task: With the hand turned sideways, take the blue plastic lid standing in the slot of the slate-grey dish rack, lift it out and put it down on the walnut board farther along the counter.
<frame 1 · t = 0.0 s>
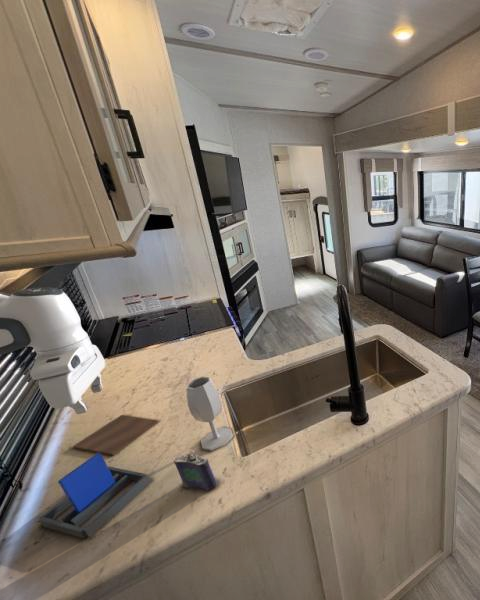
hand: (91, 400, 78), 23 cm above the worktop, tool pointing down, fingers open, 8 cm apart
wineglass: (217, 440, 94), on the worktop
board: (118, 435, 99), on the worktop
flask: (201, 485, 80), on the worktop
rack: (100, 502, 77), on the worktop
lid: (90, 485, 75), in the rack
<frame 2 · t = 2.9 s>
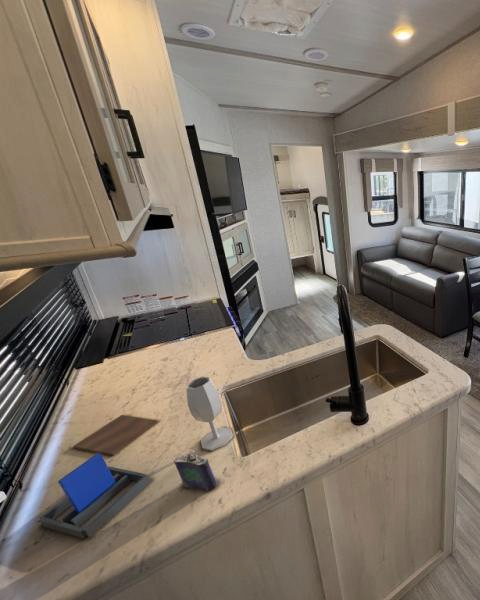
nothing on the worktop moved.
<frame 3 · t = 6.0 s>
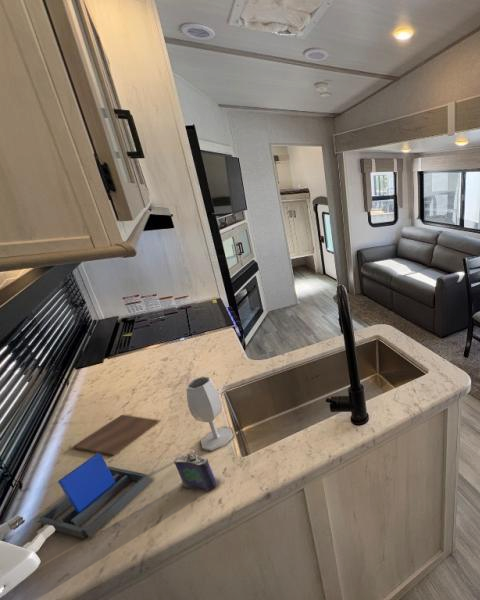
hand: (36, 522, 65), 7 cm above the worktop, tool horizontal, fingers open, 8 cm apart
nothing on the worktop moved.
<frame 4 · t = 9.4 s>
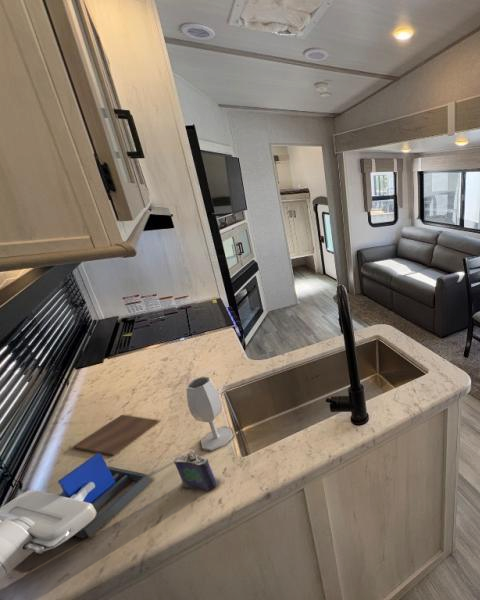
hand: (88, 482, 74), 7 cm above the worktop, tool horizontal, fingers closed on lid, 1 cm apart
lid: (90, 485, 75), in the rack, touching gripper
everything else where it was.
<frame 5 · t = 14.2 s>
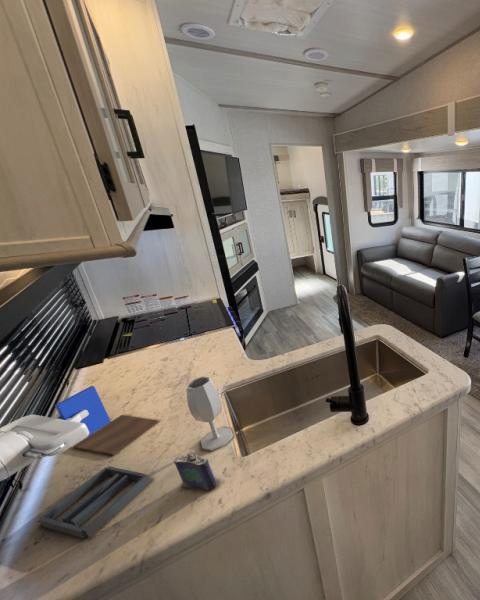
hand: (82, 411, 81), 19 cm above the worktop, tool horizontal, fingers closed on lid, 1 cm apart
lid: (84, 413, 82), point 18 cm above the worktop, touching gripper
everything else where it was.
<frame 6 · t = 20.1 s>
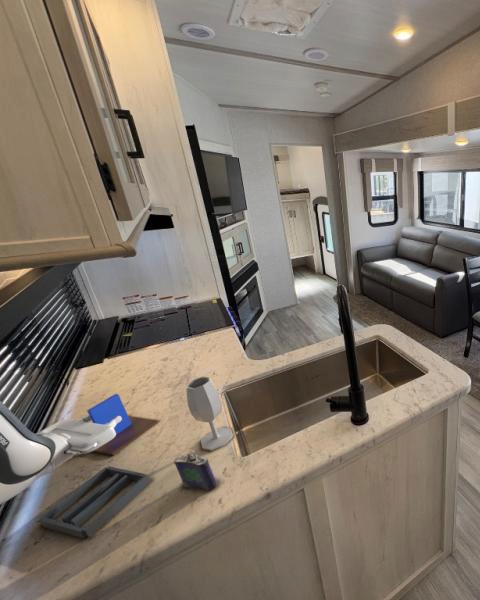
hand: (108, 415, 96), 8 cm above the worktop, tool horizontal, fingers open, 8 cm apart
lid: (110, 417, 97), on the board, point 7 cm above the worktop
everything else where it was.
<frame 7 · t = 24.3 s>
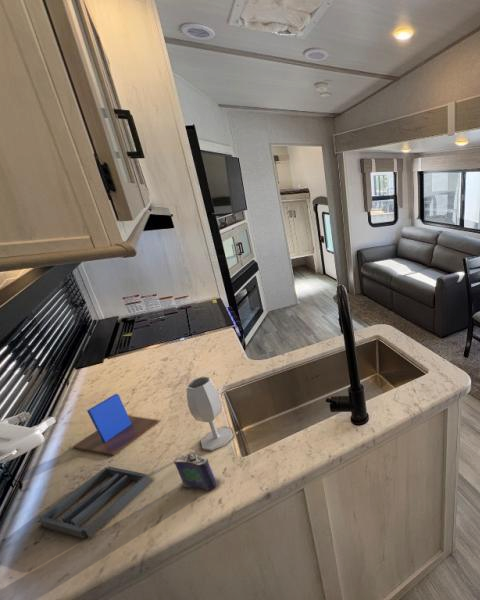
hand: (40, 416, 81), 18 cm above the worktop, tool horizontal, fingers open, 8 cm apart
nothing on the worktop moved.
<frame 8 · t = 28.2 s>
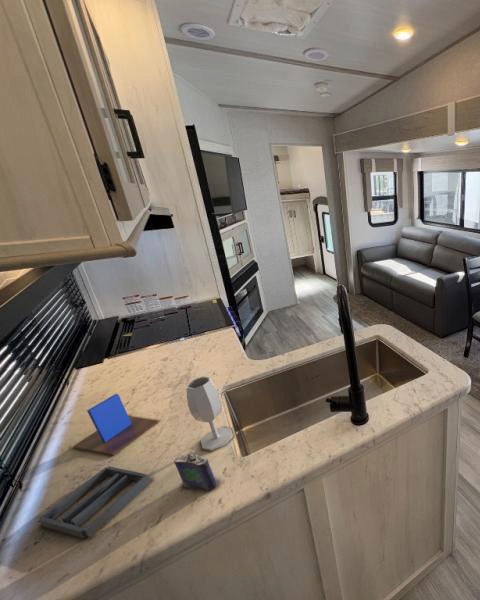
nothing on the worktop moved.
at the end: lid inside the target area on the board (0.2 cm from its centre), point 7.0 cm above the board's base; lid touching board; the gripper is holding nothing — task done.
